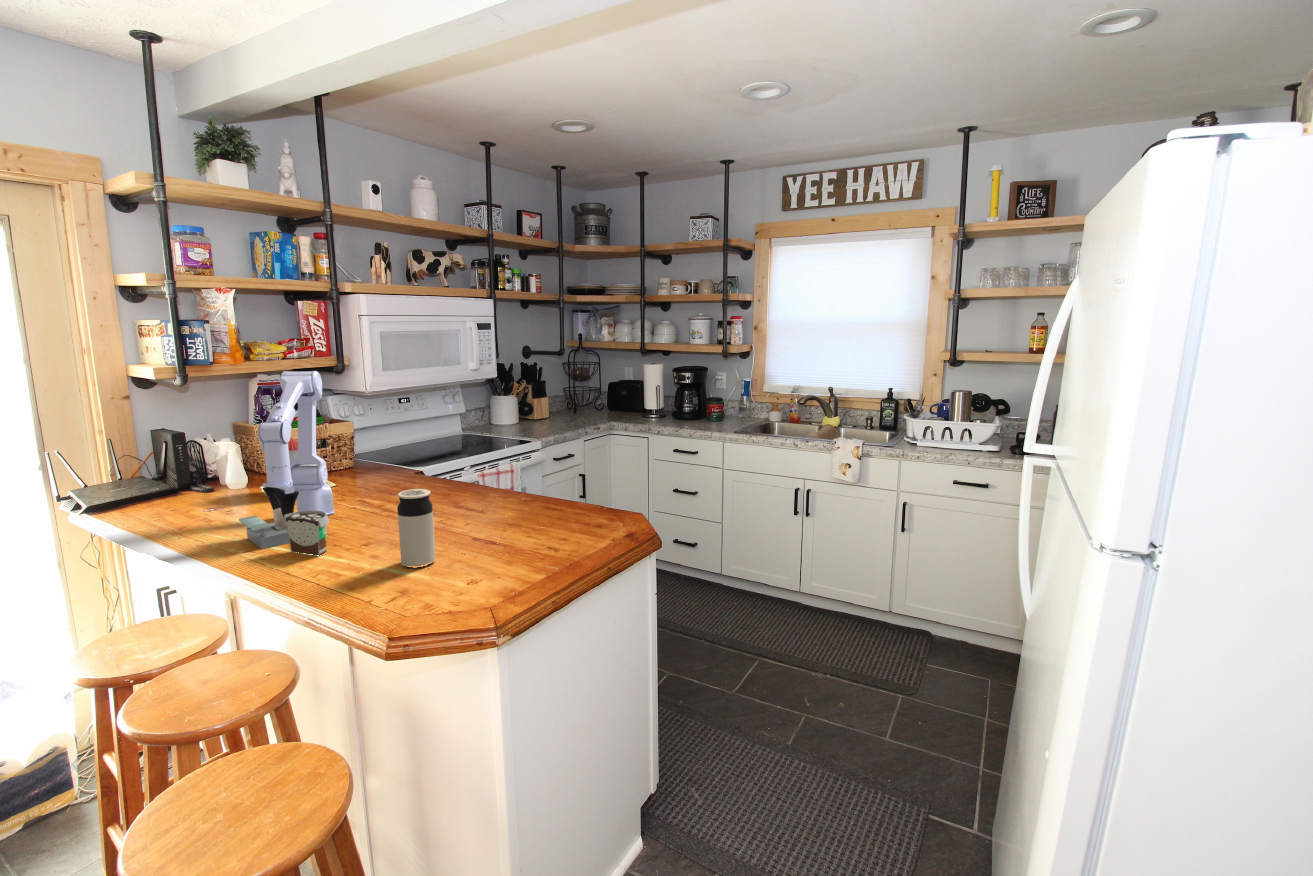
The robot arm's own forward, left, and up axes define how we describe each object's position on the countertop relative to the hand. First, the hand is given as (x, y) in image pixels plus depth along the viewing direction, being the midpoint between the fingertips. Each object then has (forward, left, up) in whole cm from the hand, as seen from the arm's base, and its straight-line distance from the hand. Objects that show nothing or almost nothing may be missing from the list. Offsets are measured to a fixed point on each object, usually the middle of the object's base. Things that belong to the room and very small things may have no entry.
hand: (283, 514), depth 174 cm
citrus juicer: (-17, -46, -7) cm, 50 cm away
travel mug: (-15, +45, -7) cm, 48 cm away
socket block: (+2, 0, -7) cm, 7 cm away
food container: (-1, +17, -7) cm, 18 cm away
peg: (0, 0, -7) cm, 7 cm away
